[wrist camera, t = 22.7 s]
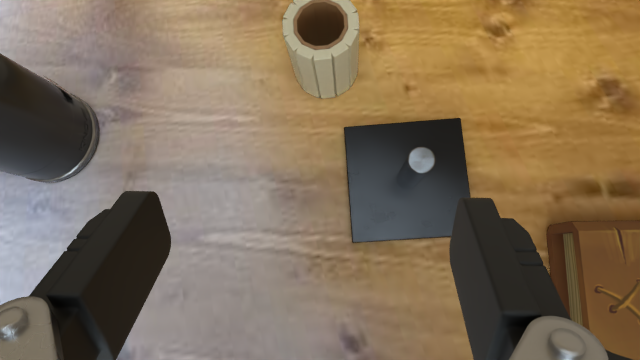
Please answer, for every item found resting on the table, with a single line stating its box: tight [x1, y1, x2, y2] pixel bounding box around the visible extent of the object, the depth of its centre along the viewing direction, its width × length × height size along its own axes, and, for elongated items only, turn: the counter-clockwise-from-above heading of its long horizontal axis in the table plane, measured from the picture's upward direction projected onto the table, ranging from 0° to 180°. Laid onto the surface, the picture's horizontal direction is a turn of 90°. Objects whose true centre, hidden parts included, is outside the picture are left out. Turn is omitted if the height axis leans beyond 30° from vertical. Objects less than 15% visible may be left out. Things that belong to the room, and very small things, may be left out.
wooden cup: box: [282, 0, 359, 98], centre depth 39 cm, size 6×6×8 cm
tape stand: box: [344, 118, 470, 243], centre depth 36 cm, size 11×11×9 cm
